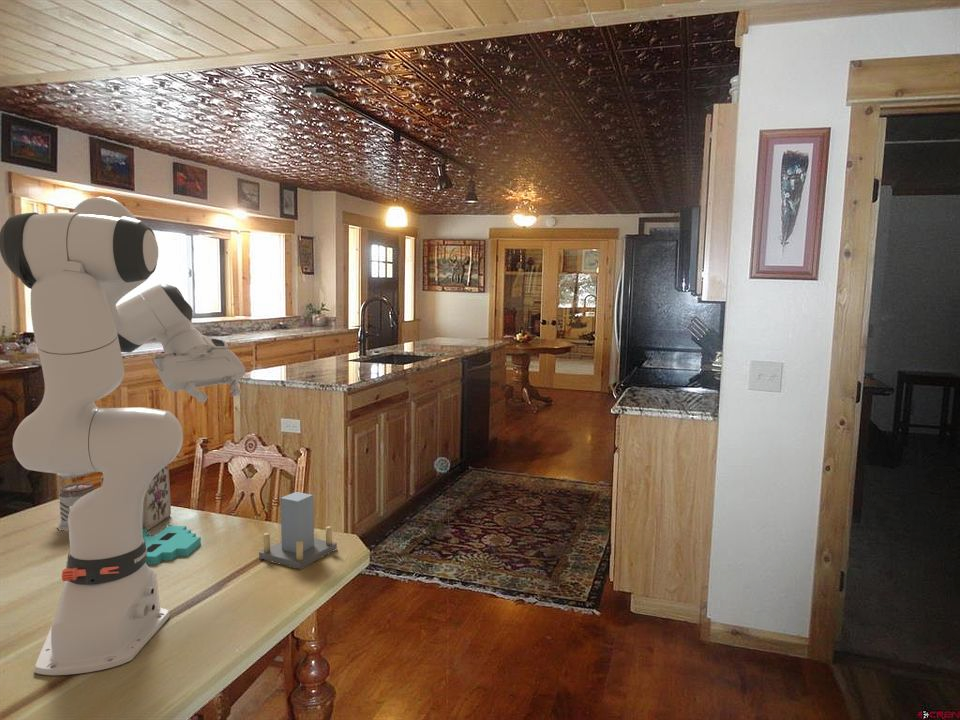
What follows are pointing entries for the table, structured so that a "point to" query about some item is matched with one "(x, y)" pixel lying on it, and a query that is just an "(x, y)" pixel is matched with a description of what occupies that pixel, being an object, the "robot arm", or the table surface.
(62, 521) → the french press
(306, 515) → the slate block
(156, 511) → the decorative jar
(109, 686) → the table surface
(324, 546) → the grey peg base
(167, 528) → the alien figure
